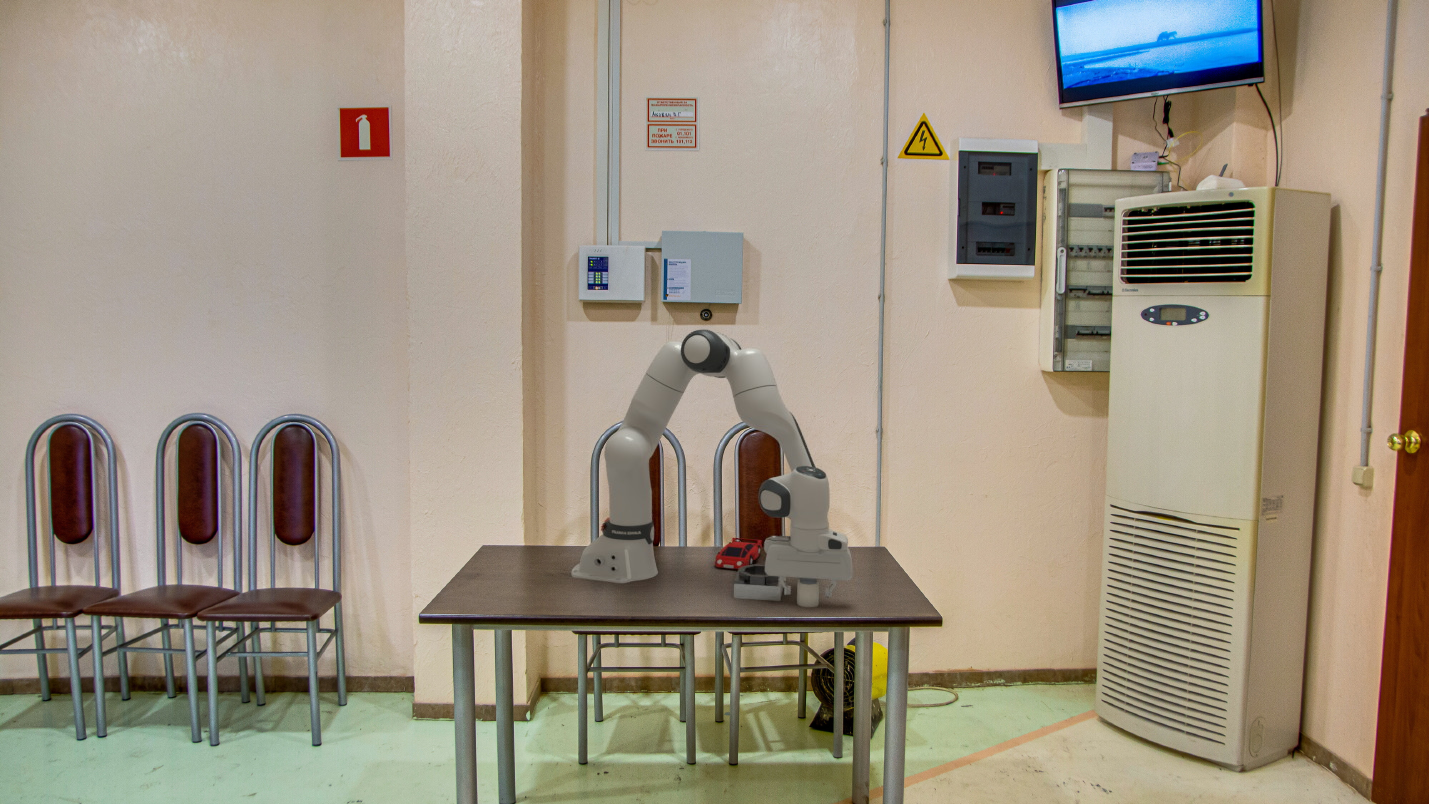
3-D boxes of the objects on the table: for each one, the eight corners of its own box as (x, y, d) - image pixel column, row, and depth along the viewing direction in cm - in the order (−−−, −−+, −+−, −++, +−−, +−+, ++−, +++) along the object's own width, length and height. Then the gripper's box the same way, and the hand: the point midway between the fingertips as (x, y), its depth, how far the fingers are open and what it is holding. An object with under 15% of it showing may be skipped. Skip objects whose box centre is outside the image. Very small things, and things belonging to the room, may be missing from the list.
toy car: (712, 570, 209) (712, 552, 209) (727, 549, 229) (728, 533, 228) (750, 573, 207) (750, 555, 207) (763, 552, 226) (763, 535, 226)
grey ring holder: (733, 600, 186) (734, 575, 185) (739, 586, 196) (739, 562, 195) (780, 603, 184) (780, 578, 184) (783, 589, 194) (783, 565, 194)
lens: (796, 609, 180) (796, 582, 180) (797, 602, 185) (798, 576, 185) (818, 611, 180) (818, 584, 179) (818, 603, 184) (819, 577, 184)
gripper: (763, 538, 179) (761, 597, 181) (853, 543, 176) (852, 603, 177) (765, 531, 185) (764, 588, 187) (853, 536, 182) (851, 593, 184)
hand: (807, 595), depth 182 cm, fingers open, 8 cm apart
